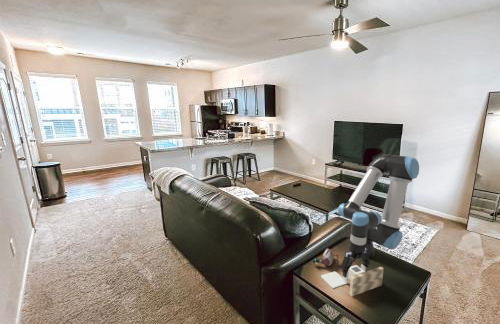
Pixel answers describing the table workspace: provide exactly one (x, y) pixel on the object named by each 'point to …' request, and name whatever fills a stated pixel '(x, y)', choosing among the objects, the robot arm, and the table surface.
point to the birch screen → (366, 281)
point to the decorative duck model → (326, 258)
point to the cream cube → (354, 271)
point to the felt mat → (333, 279)
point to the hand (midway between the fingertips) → (353, 279)
